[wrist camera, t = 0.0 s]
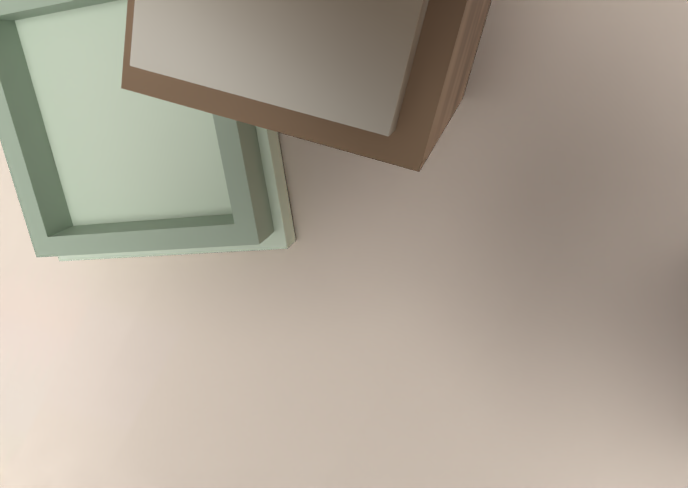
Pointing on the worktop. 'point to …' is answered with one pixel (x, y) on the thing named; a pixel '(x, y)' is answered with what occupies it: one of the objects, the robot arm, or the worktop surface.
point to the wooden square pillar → (312, 66)
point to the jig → (124, 148)
